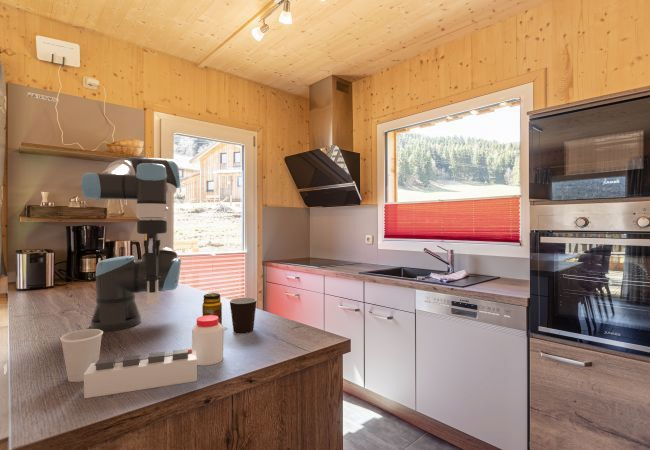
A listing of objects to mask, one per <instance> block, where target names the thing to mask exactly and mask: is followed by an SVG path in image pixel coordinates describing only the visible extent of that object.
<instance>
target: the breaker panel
mask: <svg viewBox="0 0 650 450" xmlns="http://www.w3.org/2000/svg"><path fill="white" fill-rule="evenodd" d="M197 381H198V365H197V353H196V350H193V351H192V348H184V349H183V348H182V349H175V350H172V352H169V353H166V352H165V351H158V352H151V353H150V352H149V354H148V355H144V356H141V354H134V355H128V356H125V355H124V357H123V358H120V359H116V357H110V358H102V359H99V360H98V361H97V362H96V363H91V364H90V366H89V367H88V369H87V370H86V372H85V373H84V381H83V399H89V398H97V397H102V396H109V395H114V394H122V393H128V392H133V391H142V390H147V389H153V388H159V387H160V388H162V387H167V386H173V385H179V384H181V385H182V384H185V383H193V382H197Z"/></svg>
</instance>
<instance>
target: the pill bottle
mask: <svg viewBox="0 0 650 450" xmlns="http://www.w3.org/2000/svg"><path fill="white" fill-rule="evenodd" d="M223 327H224V326H223V324H222V325H221V324H220V323H219V317H218V316H215V315H207V316H203V315H202V316H198V317H197V318H196V324H195V325H194V326H193V328H192V329H191V341H192V342H191V346H192V347H191V349H192V351H193V350H196V353H197V366H201V367H202V366H211V365H212V366H213V365H215V364H218V363H220V362H222V361H223V360H224V330H223Z"/></svg>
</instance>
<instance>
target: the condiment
mask: <svg viewBox="0 0 650 450" xmlns="http://www.w3.org/2000/svg"><path fill="white" fill-rule="evenodd" d="M222 304H223V303H222V302H221V294H220V293H219V292H218V293H217V292H214V293H213V292H211V293H205V294H204V295H203V303H202V306H201V308H202V310H201V311H202V312H201V313H202V316H207V315H215V316H218V317H219V323H220V324H221V325H222V326H223V312H222V310H223V309H222V308H223V307H222V306H223V305H222ZM224 330H227V327H224V326H223V331H224Z"/></svg>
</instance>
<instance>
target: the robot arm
mask: <svg viewBox="0 0 650 450" xmlns="http://www.w3.org/2000/svg"><path fill="white" fill-rule="evenodd" d="M180 179H181V178H180V170H179V166H178V162H177V161H176V160H175V159H171V158H165V157H163V158H159V157H157V158H155V157H140V156H131V157H125V158H121V159H117V160H114V161H113V162H110V163H109V165H108V166H107V167H106V169H105V170H103V171H102V172H86V173H84V174H82V177H81V181H80V184H81V186H80V187H81V194H82V196H83V198H85V199H90V200H97V201H99V200H127V201H128V200H129V201H130V200H131V201H133V200H135V201H136V218H137V219H138V220H137V222H136V231H137V232H136V233H138V234H140V235H144V234H145V235H146V240H143V247H144V252H143V253H142V255H141V256H142V257H141V259H136V257H135V256H134V255H123V256H117V257H116V256H115V257H111V258H107V259H106V258H105V259H103V260H100V261H98V262H97V264H96V265H95V266H96V267H95V296H96V297H95V298H96V299H95V300H96V304H95V307H94V309H93V313H92V316H91V318H90V324H89V326H90V328H89V329H99V330H102V331H103V332H105V331H106V332H108V331H110V332H111V331H118V330H123V329H124V330H125V329H128V328H131V327H135V326H137V325H139V324H140V323H141V322H142V316H141V315H142V314H141V312H140V309H139V307H138V304H137V302H136V294H137V293H138V294H139V293H146V301H147V302H146V305H156V304H159V292H167V291H173V290H176V289H177V288H178V287H179V282H180V281H179V280H180V273H181V264H182V259H181V258H180V257H178V253H177V252H176V251H175V250H173V195H175V194H176V192H177V189H180V188H181V180H180Z"/></svg>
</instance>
